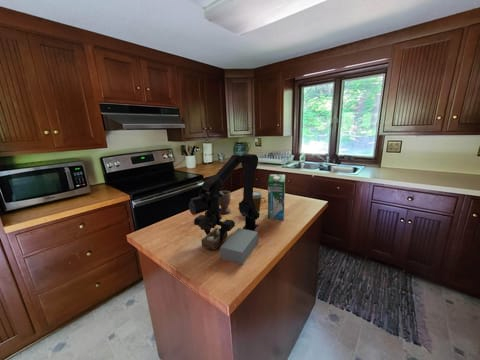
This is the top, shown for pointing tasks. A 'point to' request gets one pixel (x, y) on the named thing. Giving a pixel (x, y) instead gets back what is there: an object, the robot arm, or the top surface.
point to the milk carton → (276, 196)
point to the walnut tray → (212, 243)
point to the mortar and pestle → (225, 202)
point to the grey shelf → (239, 246)
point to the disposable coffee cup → (257, 199)
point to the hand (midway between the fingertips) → (215, 239)
